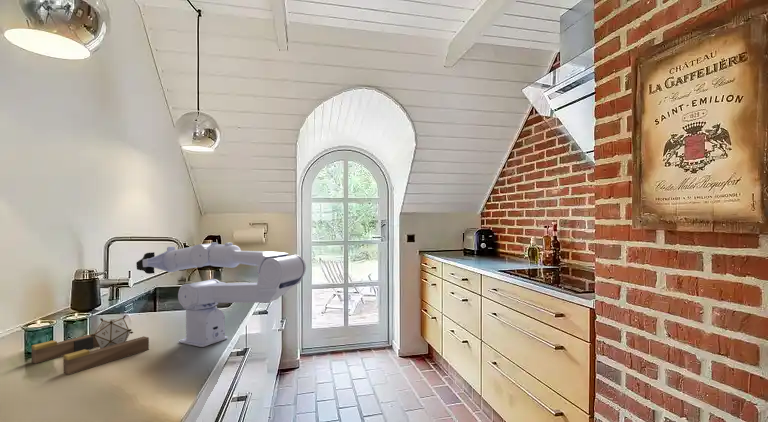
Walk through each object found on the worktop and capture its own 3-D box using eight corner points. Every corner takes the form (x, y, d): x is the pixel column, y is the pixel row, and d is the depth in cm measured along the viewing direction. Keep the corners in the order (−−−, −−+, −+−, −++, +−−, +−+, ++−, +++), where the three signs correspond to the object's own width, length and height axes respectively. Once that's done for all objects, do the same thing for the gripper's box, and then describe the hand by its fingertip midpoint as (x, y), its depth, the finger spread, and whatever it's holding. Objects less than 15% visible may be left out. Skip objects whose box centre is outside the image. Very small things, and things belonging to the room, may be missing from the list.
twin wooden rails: (148, 349, 98) (148, 334, 98) (68, 374, 83) (68, 356, 83) (111, 340, 106) (111, 326, 106) (31, 362, 91) (31, 345, 91)
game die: (116, 366, 97) (112, 340, 92) (83, 354, 97) (78, 328, 92) (142, 338, 105) (140, 313, 99) (112, 327, 105) (109, 301, 100)
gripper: (204, 243, 115) (173, 249, 120) (157, 244, 101) (124, 251, 107) (206, 268, 114) (174, 273, 119) (159, 272, 101) (125, 278, 106)
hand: (151, 264), depth 113 cm, fingers open, 7 cm apart
